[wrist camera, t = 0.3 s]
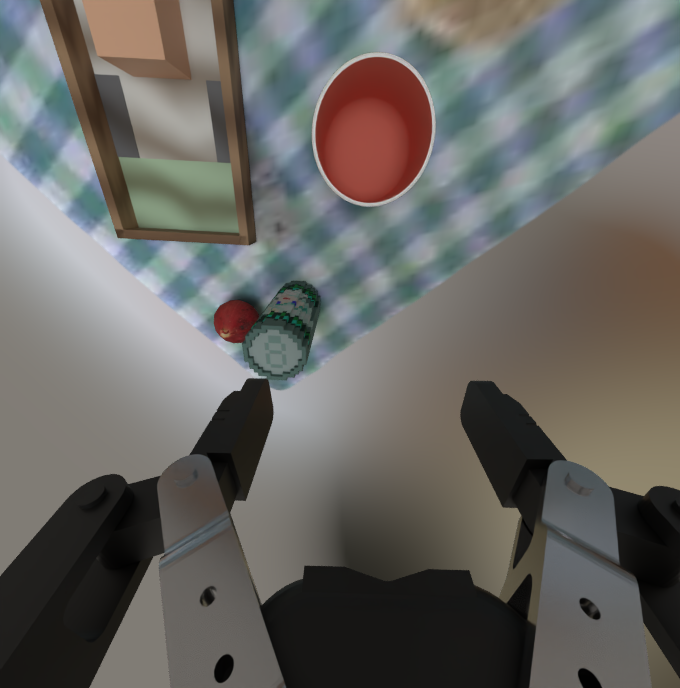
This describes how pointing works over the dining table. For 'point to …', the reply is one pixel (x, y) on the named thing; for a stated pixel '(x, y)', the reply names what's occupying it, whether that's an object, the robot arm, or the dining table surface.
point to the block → (140, 36)
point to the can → (283, 332)
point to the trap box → (165, 130)
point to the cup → (373, 129)
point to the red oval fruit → (235, 320)
